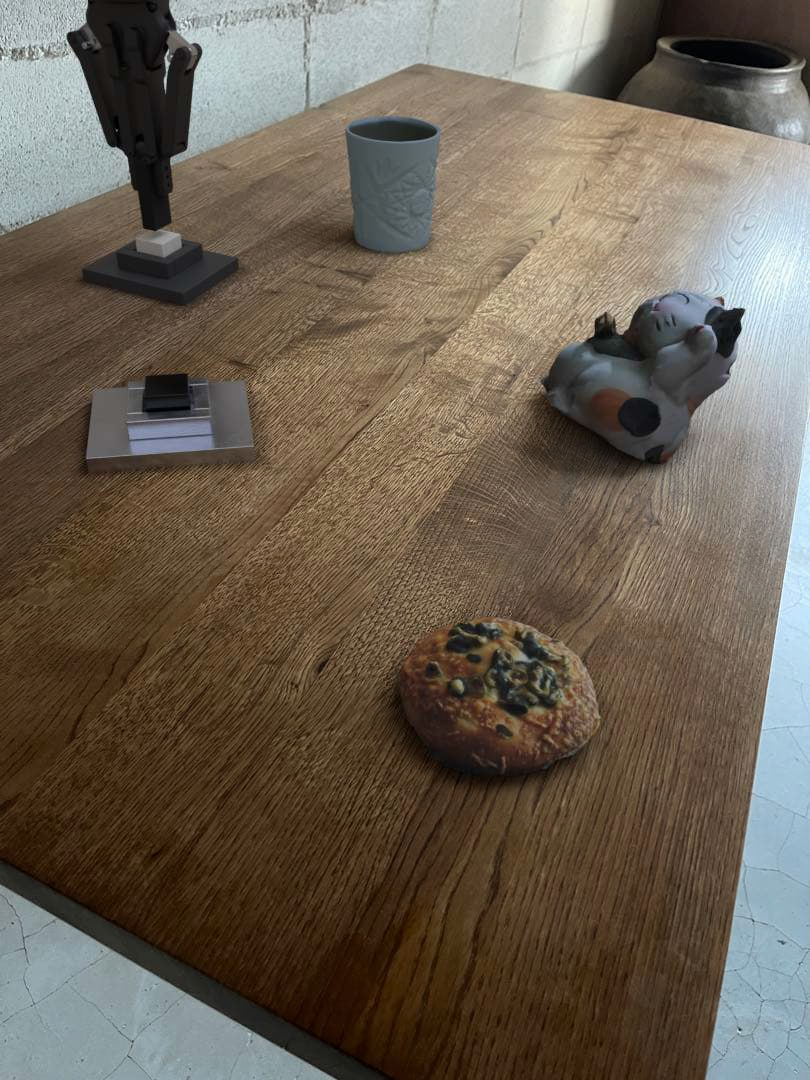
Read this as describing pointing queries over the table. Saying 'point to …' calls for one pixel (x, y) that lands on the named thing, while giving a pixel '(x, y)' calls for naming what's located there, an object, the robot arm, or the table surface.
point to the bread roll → (497, 697)
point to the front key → (167, 392)
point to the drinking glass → (392, 181)
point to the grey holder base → (169, 428)
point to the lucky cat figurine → (647, 372)
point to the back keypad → (162, 272)
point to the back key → (158, 243)
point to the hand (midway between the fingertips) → (157, 225)
